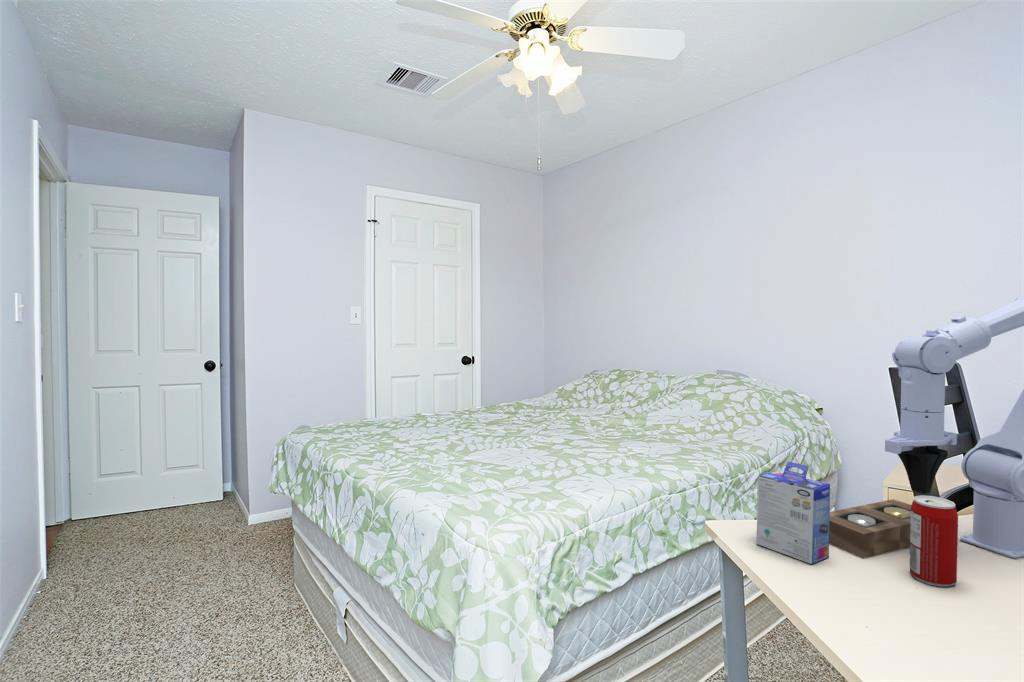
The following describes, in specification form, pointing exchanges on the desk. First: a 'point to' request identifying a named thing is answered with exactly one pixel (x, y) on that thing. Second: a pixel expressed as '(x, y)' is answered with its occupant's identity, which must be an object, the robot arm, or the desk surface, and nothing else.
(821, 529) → the ink cartridge box
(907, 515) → the brass peg
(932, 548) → the soda can
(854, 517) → the steel peg
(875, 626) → the desk surface
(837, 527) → the brown peg hole block
